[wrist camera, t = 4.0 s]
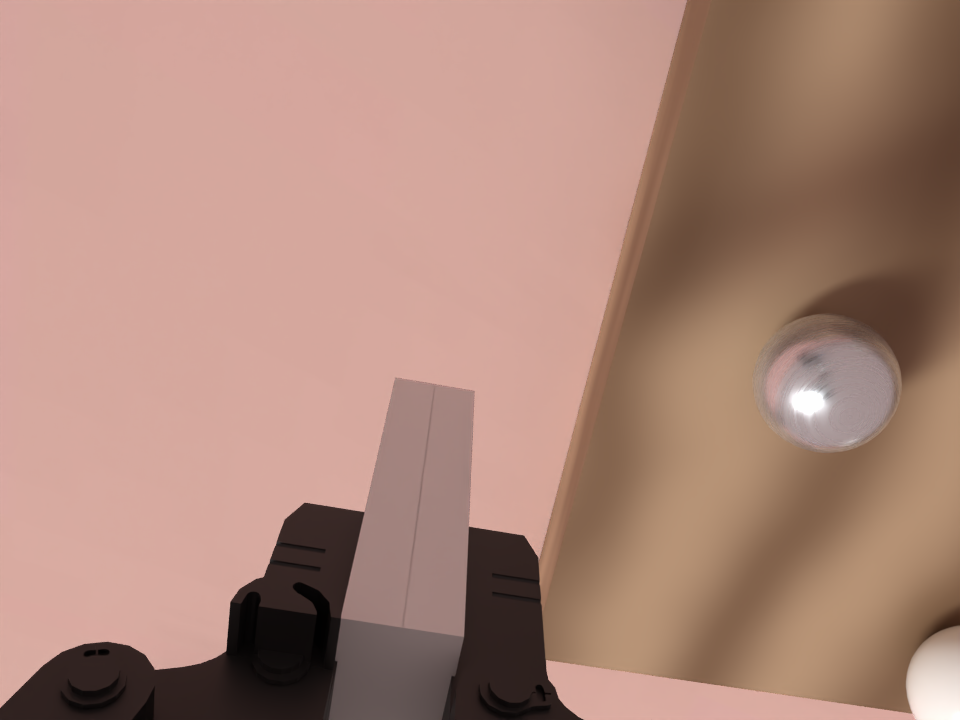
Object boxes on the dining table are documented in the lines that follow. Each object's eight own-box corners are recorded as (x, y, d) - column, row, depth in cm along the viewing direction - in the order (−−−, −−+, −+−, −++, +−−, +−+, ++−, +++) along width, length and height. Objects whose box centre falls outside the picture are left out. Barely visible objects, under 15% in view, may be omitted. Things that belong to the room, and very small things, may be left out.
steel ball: (721, 399, 25) (754, 467, 22) (761, 282, 23) (803, 337, 20) (842, 419, 25) (892, 490, 22) (889, 305, 24) (951, 363, 20)
